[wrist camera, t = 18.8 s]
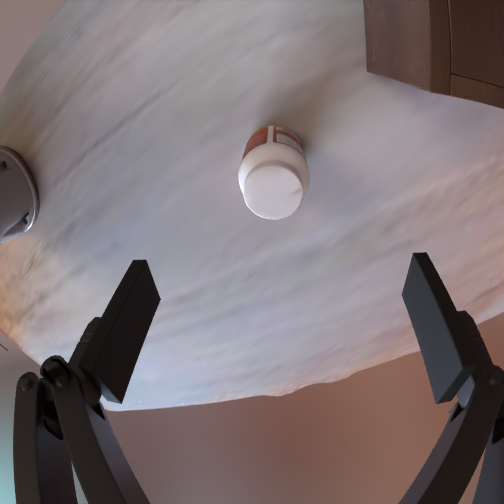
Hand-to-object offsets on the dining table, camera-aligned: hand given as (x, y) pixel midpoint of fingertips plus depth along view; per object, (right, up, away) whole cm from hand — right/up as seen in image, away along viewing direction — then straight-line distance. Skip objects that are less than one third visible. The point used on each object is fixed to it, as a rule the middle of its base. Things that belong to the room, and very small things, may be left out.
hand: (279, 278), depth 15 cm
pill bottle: (+1, +12, +18) cm, 22 cm away
